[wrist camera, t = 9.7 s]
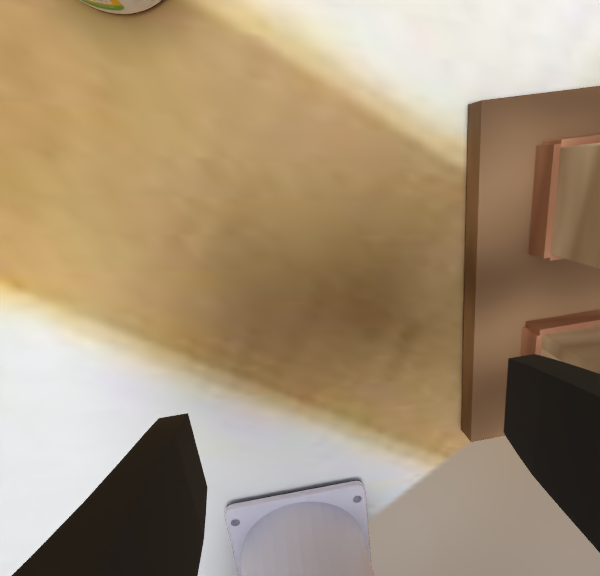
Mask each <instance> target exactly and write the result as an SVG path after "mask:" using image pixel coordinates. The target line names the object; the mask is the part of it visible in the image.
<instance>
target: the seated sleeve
mask: <svg viewBox="0 0 600 576" xmlns="http://www.w3.org/2000/svg"><path fill="white" fill-rule="evenodd" d="M531 354H536V355H540V356H544V357H548V358H552V359H555V360H558V361H562V362H565V363H568V364H571V365H574V366H578V367H581V368H584V369H587V370H590V371H593V372H596V373H599V374H600V309H598V310H592V311H586V312H580V313H574V314H568V315H562V316H556V317H549V318H543V319H537V320H531V321H526V324H525V327H522V340H521V352H520V356H525V355H531Z"/></svg>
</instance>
